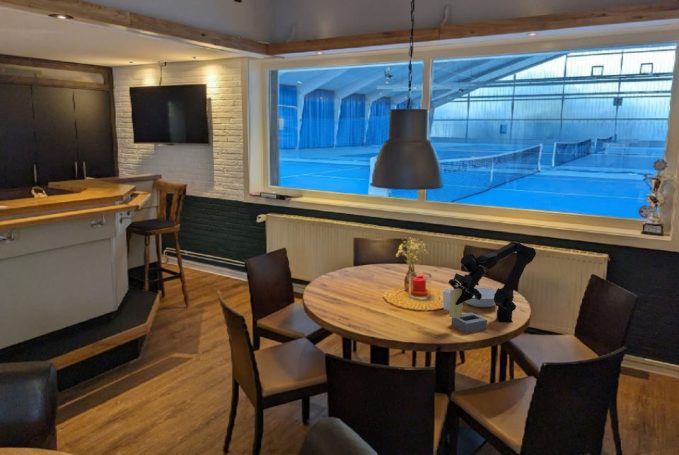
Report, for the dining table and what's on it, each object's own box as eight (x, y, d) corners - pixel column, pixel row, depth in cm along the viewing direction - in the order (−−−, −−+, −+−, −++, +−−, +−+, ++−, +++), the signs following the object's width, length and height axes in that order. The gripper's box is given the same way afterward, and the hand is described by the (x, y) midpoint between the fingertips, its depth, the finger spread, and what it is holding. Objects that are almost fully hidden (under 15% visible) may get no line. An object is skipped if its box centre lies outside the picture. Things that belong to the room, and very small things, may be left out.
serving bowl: (499, 300, 285) (500, 288, 283) (500, 313, 265) (501, 300, 264) (460, 296, 290) (461, 284, 289) (459, 309, 270) (459, 296, 269)
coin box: (471, 321, 254) (471, 312, 253) (486, 328, 244) (487, 319, 243) (451, 324, 248) (451, 315, 248) (466, 332, 239) (466, 323, 238)
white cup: (450, 312, 265) (451, 294, 263) (439, 308, 271) (439, 290, 269) (460, 309, 269) (461, 291, 267) (449, 305, 275) (450, 287, 274)
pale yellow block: (457, 314, 244) (459, 288, 241) (461, 316, 241) (463, 290, 238) (449, 316, 242) (450, 289, 239) (452, 318, 239) (454, 291, 236)
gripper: (452, 262, 247) (432, 287, 244) (478, 272, 230) (456, 299, 228) (464, 276, 252) (445, 301, 249) (490, 286, 235) (470, 313, 233)
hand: (453, 303), depth 240 cm, fingers closed on pale yellow block, 3 cm apart
